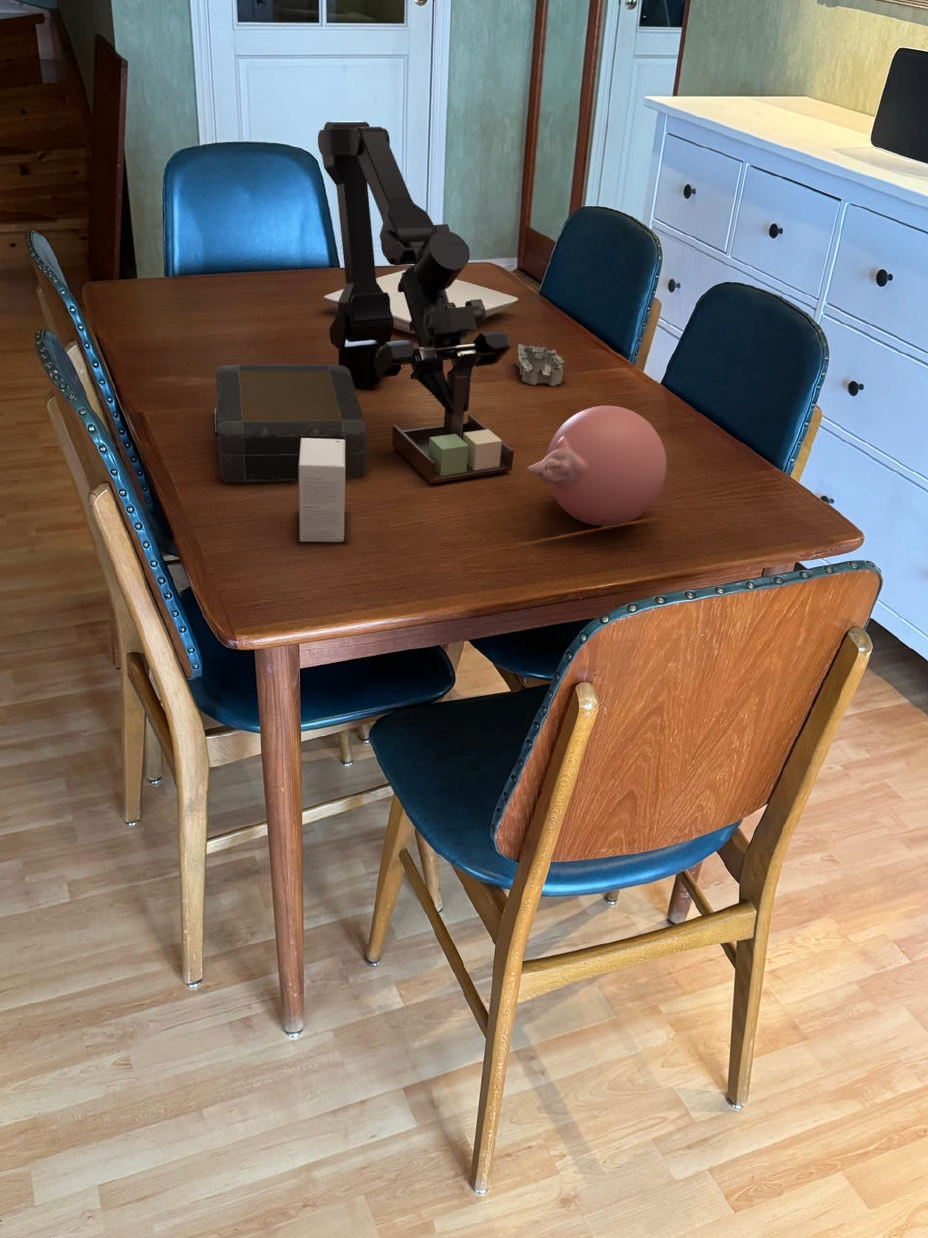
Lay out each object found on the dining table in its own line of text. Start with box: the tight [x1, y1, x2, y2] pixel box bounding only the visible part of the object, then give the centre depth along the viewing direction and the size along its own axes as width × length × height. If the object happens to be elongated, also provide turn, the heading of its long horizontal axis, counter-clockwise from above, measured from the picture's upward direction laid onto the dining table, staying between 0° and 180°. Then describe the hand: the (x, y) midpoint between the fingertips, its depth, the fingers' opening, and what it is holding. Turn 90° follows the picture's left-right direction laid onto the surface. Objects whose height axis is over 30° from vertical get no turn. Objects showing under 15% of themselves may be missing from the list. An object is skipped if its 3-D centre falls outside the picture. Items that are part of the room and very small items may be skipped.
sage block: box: [428, 434, 468, 476], centre depth 152 cm, size 4×4×4 cm
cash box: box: [212, 364, 368, 484], centre depth 157 cm, size 25×20×8 cm
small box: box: [298, 438, 346, 543], centre depth 137 cm, size 8×6×10 cm
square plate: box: [323, 269, 519, 335], centre depth 213 cm, size 27×27×4 cm
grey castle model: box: [516, 343, 565, 387], centre depth 189 cm, size 11×8×4 cm
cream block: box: [463, 428, 503, 470], centre depth 154 cm, size 4×4×4 cm
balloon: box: [526, 405, 667, 527], centre depth 142 cm, size 15×20×15 cm
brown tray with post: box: [391, 370, 515, 485], centre depth 154 cm, size 13×13×12 cm
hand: (459, 411), depth 152 cm, fingers closed on brown tray with post
